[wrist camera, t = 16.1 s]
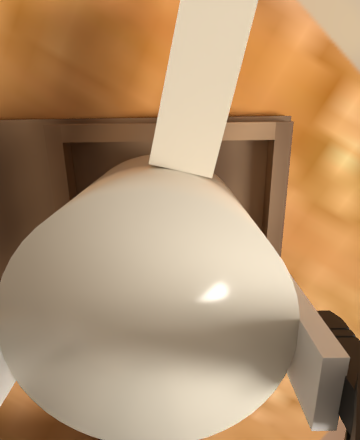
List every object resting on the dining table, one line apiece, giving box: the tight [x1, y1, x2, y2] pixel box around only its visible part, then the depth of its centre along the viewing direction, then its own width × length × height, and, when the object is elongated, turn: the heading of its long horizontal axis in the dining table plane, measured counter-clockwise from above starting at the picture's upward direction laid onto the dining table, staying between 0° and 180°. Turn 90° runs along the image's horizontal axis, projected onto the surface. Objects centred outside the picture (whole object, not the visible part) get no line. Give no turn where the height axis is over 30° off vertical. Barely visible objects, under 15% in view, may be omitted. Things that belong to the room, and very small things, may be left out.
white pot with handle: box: [0, 0, 300, 440], centre depth 14 cm, size 18×10×9 cm, turn 167°
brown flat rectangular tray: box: [0, 116, 294, 282], centre depth 22 cm, size 27×15×2 cm, turn 91°
